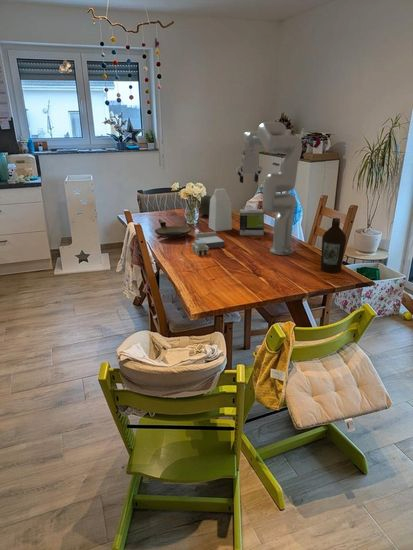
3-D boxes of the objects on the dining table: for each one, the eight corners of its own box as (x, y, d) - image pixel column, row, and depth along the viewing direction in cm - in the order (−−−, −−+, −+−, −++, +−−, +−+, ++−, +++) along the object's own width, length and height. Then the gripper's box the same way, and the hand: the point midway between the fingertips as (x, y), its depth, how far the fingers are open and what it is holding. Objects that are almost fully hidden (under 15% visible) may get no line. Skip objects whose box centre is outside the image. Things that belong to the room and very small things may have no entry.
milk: (224, 225, 269) (225, 186, 259) (231, 229, 259) (232, 189, 249) (208, 227, 265) (208, 188, 255) (215, 231, 255) (215, 191, 245)
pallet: (208, 254, 212) (208, 247, 211) (197, 255, 210) (197, 248, 209) (202, 249, 221) (202, 242, 219) (191, 250, 219) (191, 243, 217)
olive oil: (322, 264, 195) (327, 215, 186) (344, 268, 190) (350, 217, 181) (316, 271, 186) (321, 220, 177) (339, 275, 182) (346, 222, 172)
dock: (224, 246, 224) (224, 238, 222) (204, 248, 221) (204, 240, 219) (215, 239, 237) (215, 231, 235) (196, 241, 233) (196, 233, 231)
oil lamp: (157, 243, 230) (156, 231, 228) (152, 230, 258) (152, 219, 255) (194, 241, 235) (194, 228, 232) (186, 228, 262) (186, 217, 259)
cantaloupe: (207, 212, 305) (207, 193, 300) (219, 215, 295) (219, 195, 289) (192, 215, 297) (192, 195, 291) (204, 218, 287) (204, 198, 281)
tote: (205, 246, 212) (205, 242, 211) (197, 247, 211) (197, 243, 210) (202, 243, 217) (202, 239, 216) (194, 244, 216) (194, 240, 215)
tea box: (263, 231, 253) (264, 208, 247) (263, 235, 244) (264, 212, 238) (239, 231, 254) (240, 208, 249) (239, 235, 245) (239, 212, 240)
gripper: (238, 154, 230) (238, 183, 237) (265, 153, 235) (264, 182, 242) (234, 153, 237) (233, 182, 243) (259, 152, 242) (258, 180, 248)
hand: (248, 182), depth 243 cm, fingers open, 9 cm apart
